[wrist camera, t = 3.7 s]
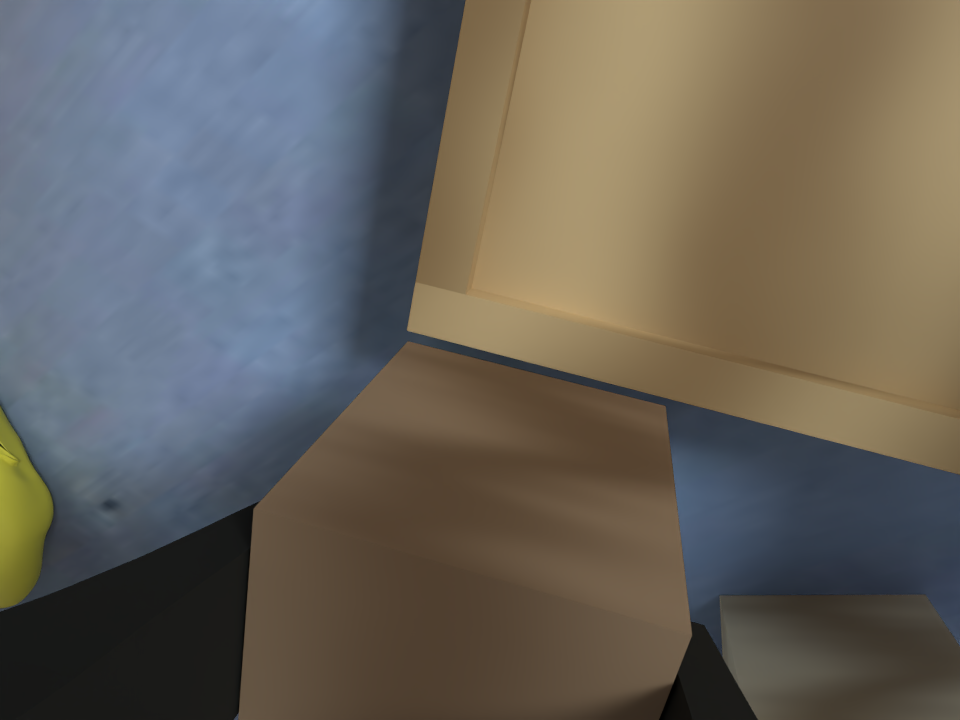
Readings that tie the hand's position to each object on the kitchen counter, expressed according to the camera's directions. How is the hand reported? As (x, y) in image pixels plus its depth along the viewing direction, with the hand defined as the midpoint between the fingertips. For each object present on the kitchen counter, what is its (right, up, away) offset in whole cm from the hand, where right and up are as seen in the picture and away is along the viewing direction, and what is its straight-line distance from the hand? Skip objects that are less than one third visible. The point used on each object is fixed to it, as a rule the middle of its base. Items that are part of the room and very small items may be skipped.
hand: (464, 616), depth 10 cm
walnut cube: (+1, +1, +4) cm, 4 cm away
